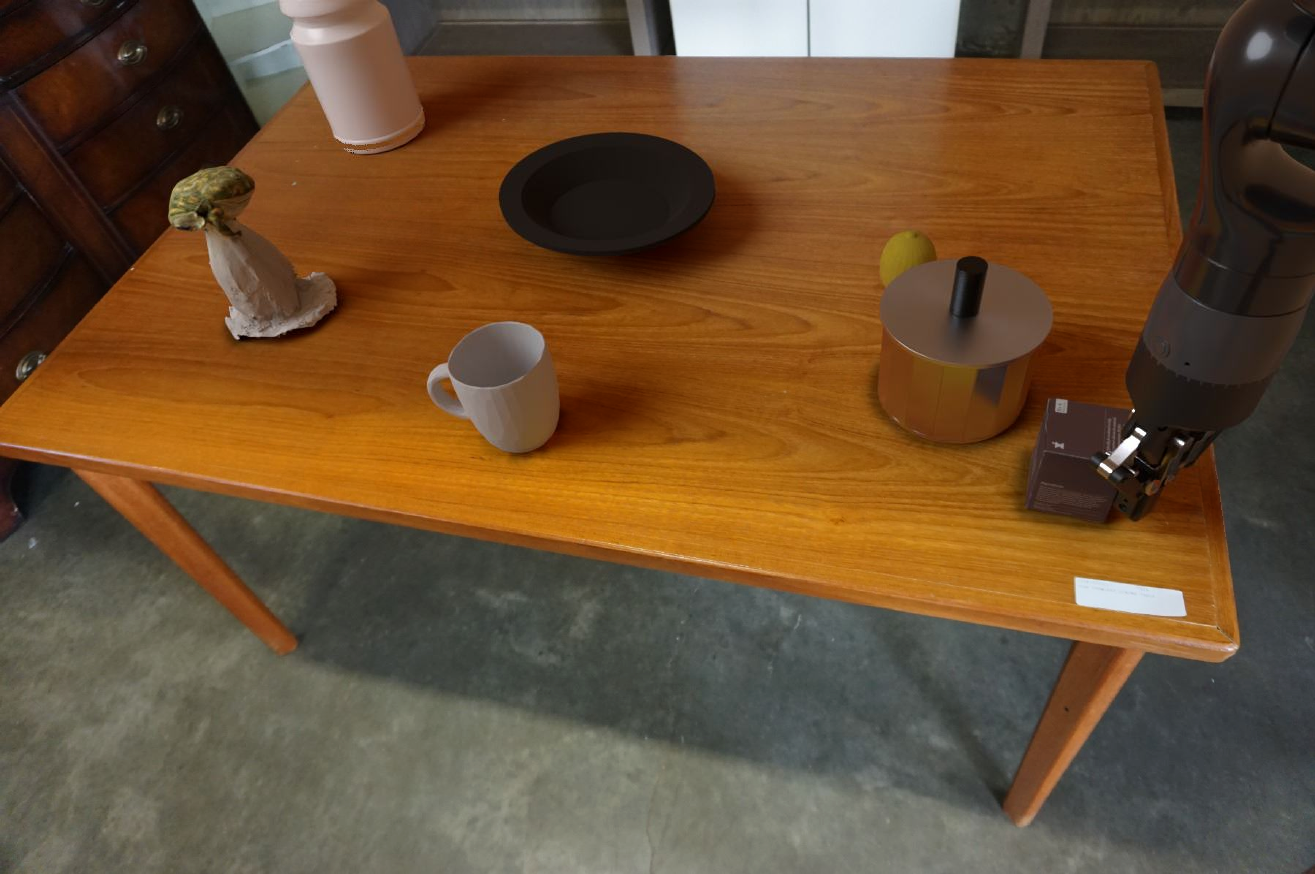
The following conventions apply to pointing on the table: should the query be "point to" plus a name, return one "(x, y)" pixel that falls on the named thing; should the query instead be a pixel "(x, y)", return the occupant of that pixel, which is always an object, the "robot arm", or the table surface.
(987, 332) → the pot lid
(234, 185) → the mushroom
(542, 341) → the mug
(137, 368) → the table surface
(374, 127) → the bottle
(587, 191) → the plate
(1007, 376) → the pot
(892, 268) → the lemon
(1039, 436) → the box
